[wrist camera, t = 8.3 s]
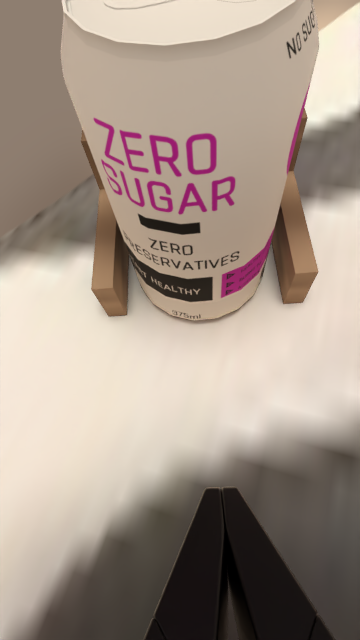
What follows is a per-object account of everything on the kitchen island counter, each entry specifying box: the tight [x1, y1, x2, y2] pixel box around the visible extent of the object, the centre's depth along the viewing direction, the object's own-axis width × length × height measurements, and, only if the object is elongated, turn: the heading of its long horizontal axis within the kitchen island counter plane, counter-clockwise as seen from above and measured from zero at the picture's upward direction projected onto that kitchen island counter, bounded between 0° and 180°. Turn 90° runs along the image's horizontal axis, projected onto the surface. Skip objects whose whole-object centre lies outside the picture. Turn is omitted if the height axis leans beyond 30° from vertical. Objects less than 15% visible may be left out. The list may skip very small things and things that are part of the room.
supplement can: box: [61, 0, 319, 320], centre depth 16 cm, size 8×8×15 cm
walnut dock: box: [81, 108, 318, 316], centre depth 20 cm, size 9×12×7 cm
